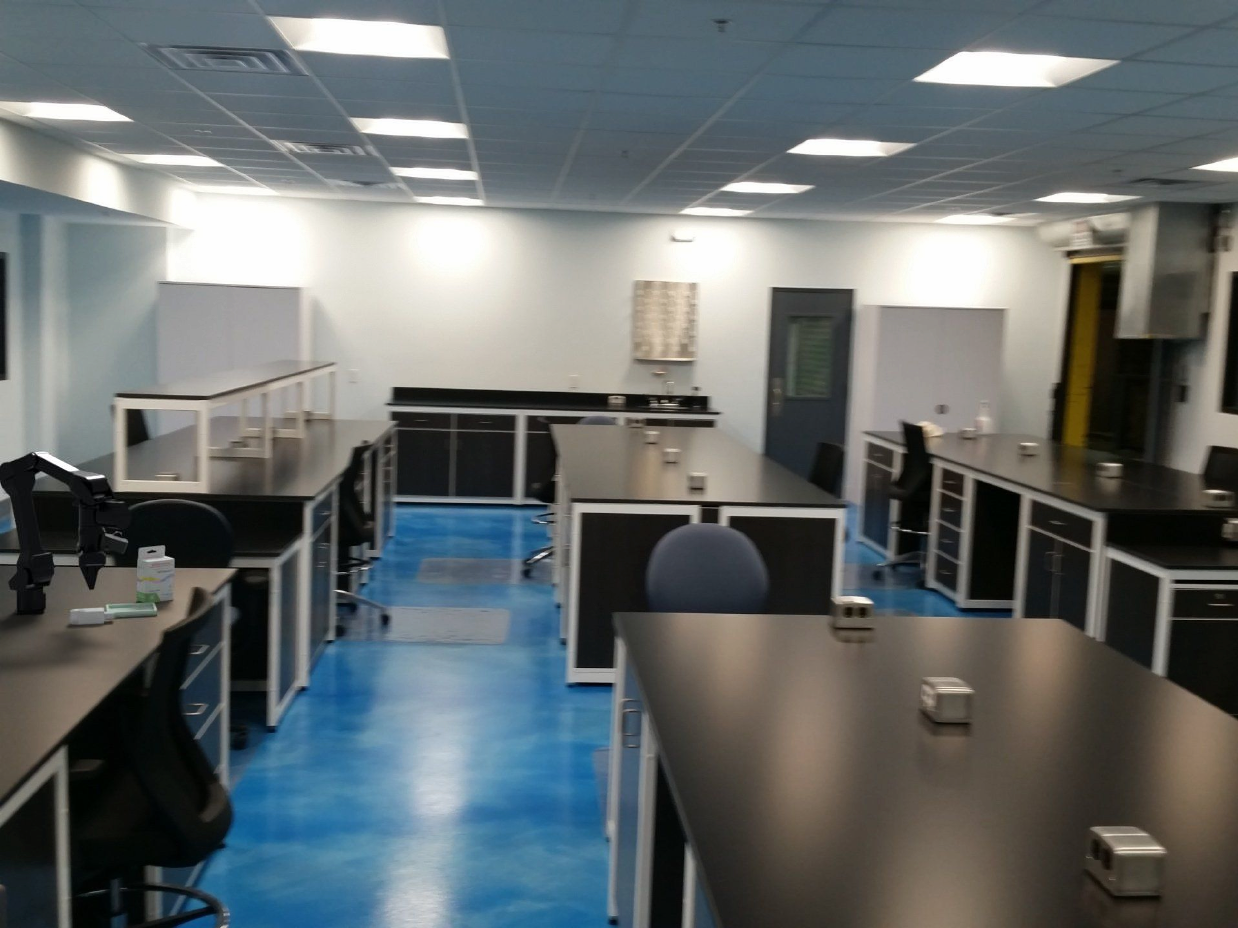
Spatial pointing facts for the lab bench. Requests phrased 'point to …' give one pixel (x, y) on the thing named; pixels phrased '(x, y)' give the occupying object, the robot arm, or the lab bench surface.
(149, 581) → the ink box
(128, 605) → the tray
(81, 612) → the connector
